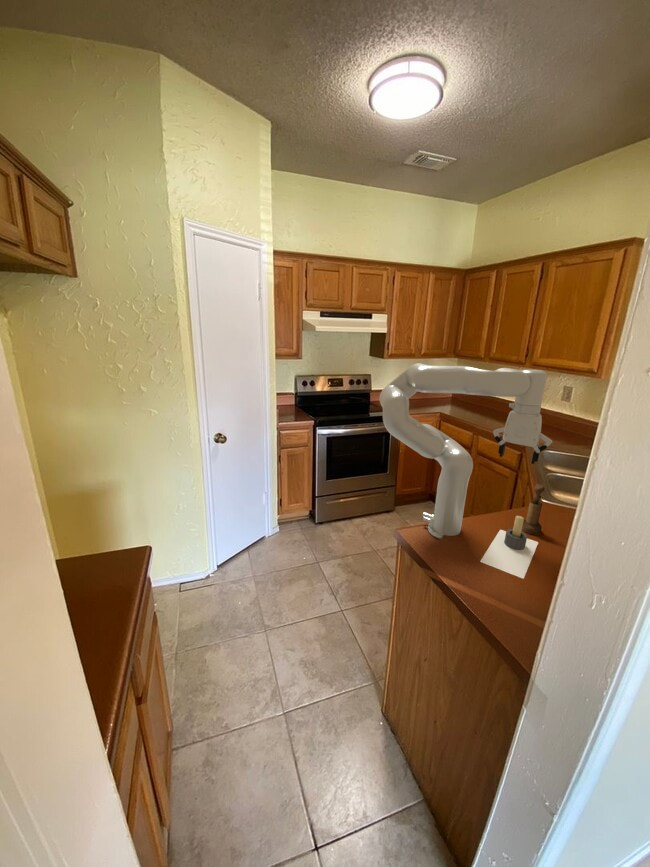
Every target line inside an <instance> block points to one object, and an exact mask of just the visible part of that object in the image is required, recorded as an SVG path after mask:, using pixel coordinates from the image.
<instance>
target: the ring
mask: <svg viewBox="0 0 650 867" xmlns="http://www.w3.org/2000/svg"><path fill="white" fill-rule="evenodd" d="M505 531H506V535H505V540H504V543H505V545H506V546H508V547H509V548H512V549H514V550H523V549H524V548H525V545H526V540H527V539H528V536H527V533H526V532H524V531H523V530H521V535H520V538H519V537H515V536H513V535H512V532H513V528H509V529H506V530H505Z"/></svg>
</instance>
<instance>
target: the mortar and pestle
mask: <svg viewBox="0 0 650 867" xmlns="http://www.w3.org/2000/svg"><path fill="white" fill-rule="evenodd" d="M533 488H534V491H535V494H534V495H533V499H530V500H529V504H528V507H527V508H528V509H527V513H526V518H524V521H523V526H522V530H521V531H522V532H523V533H526V532H527V533H526V534H529V535H536V534H537V535H540V534H541V532H542V528H543V527H542V525H541V524H540V522H539V520H540V516H541V511H542V508H543V507H542V506H543V502H542V501H540V500H541V498H542V496H541V494H542V493H543V492H544V491H545V486H544V485H543V484H541V483H536V484H535V485H534V487H533ZM537 535H536V536H537Z"/></svg>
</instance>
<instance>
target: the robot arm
mask: <svg viewBox="0 0 650 867" xmlns="http://www.w3.org/2000/svg"><path fill="white" fill-rule="evenodd" d="M547 378H548V374H547V372H546V371H544V370H540V369H529V368H528V369H516V368H509V367H501V368H497V369H495V370H488V369H479V368H476V367H471V366H464V365H429V364H424V363H420V362H419V363H418V362H417V363H414V364H412V365H411V366H408V368H407V369H405V370H404V371H403V372H401V374H399V375H398V376H396V378H394V379H393V380H392V381H391V382H389V383H388V384H387V385H386V386H384V387H383V389H382V390H381V392H380V394H379V404H380V405H381V407H382V422H383V425H384V427H385V429H386V430H387V432H388V433H389V434H390V435H391V436H392V437H394V438H395V439H397V440H398V441H400V442H401V443H403V444H404V445H406V446H407V447H409V448H410V449H412V450H413V451H414V452H416V453H418V454H419V455H421V456H422V457H424V458H427V459H434V460H435V461H436V462H438V463H439V465H440V467H441V471H440V475H439V477H438V482H437V488H436V496H435V503H434V504H435V505H434V510H433V511H434V512H433V513H432V514H430V513H429V512H425V511H424V512H423V514H422V518H423V519H422V520H423V521H424V522H428V525H427V531H428V532H429V534H430V535H431V536H433V537H434V538H436V539H438V540H441V539H442V538H443V537H444V536H447V537H448V536H450V537H453V536H457V535H459V534H460V533H461V532H462V525H463V524H462V523H463V520H464V518H463V517H464V510H465V504H466V497H467V492H468V491H467V490H468V486H469V481H470V477H471V475H472V472H473V469H474V460H473V458H472V456H471V454H470V453H469V452H468V451H467V450H466V449H465V448H464V447H463V446H462V445H461V444H459V443H458V442H457V441H456V440H454V439H453V438H452V437H450V436H449V435H447V434H446V433H444V432H443V431H441V430H439V429H437V428H436V427H434V426H433V425H430V424H428V423H421V422H420V421H418V420H417V419H415V418H414V417H412V416H411V415H410V413H409V412H410V411H409V409H410V400H409V399H410V398H412V397H413V396H414V395H415V394H416V393H417V392H420V393H424V394H428V393H429V394H433V393H434V394H460V395H461V394H463V395H470V396H471V395H472V396H486V397H498V398H499V397H501V398H503V397H507V398H508V397H509V398H510V397H515V398H514V402H512V403H511V402H509V404H508V407H509V408H511V409H512V410H511V411H509V413H508V416H507V419H506V422H505V426H504V427H500V428H496V429H494V430H493V431H492V434H493V436H494V439H495V441H496V442H497V444H498V445H499V446H498V452H497V453H498V454H499V458H503V456H504V455H505V450H506V443H511V444H515V445H520V446H525V447H532V448H533V449H534V451H533V453H532V458H531V464H532V465H535V463H537V462H538V461H539V457H540V453H541V452H543V451H545V450H546V449H547V448H549V446H550V445H551V444H552V443H553V440H552V439H551V438H549V437H548V436H547V435H545V434H543V433H542V424H543V423H542V422H543V420H542V419H543V418H542V414H541V409H542V403H543V399H544V394H545V389H546V383H547ZM500 433H503V435H502V438H501V436H500ZM540 440H541V441H543V442H545V443H544V444H543V445H541V446H540V444H539V442H540Z"/></svg>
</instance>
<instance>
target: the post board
mask: <svg viewBox="0 0 650 867" xmlns="http://www.w3.org/2000/svg"><path fill="white" fill-rule="evenodd" d="M524 520H525V517H523V516H521V515H515V518H514V522H513V527H512V529H513V532H512V535H513V536H515V537H519V538H520V535H521V531H523V530H522V526H523V521H524ZM506 531H507V530H503V529H499V531H498V532H497V534H496V535H495V537H494V539H493V540H492V541H491V543H490V545H489V547H488V549H487V550H486V551H485V552H484V555H483V556H482V557H481V559H480V563H483V564H484V565H487V566H490V567H493V568H494V569H497V570H499V571H502V572H505V573H507V574H510V575H512V576H516V577H517V578H520V579H525V577H526V575H527V571H528V569H529V566H530V565H531V562H532V559H533V557H534V555H535V552H536V549H537V546H538V545H539V542H538V541H536V540H533V539H530V538H527V540H526V545H525V548H524V549H523V550H514V549H512V548H509V547H508V546H506V545H505V543H504V540H505V535H506Z"/></svg>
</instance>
